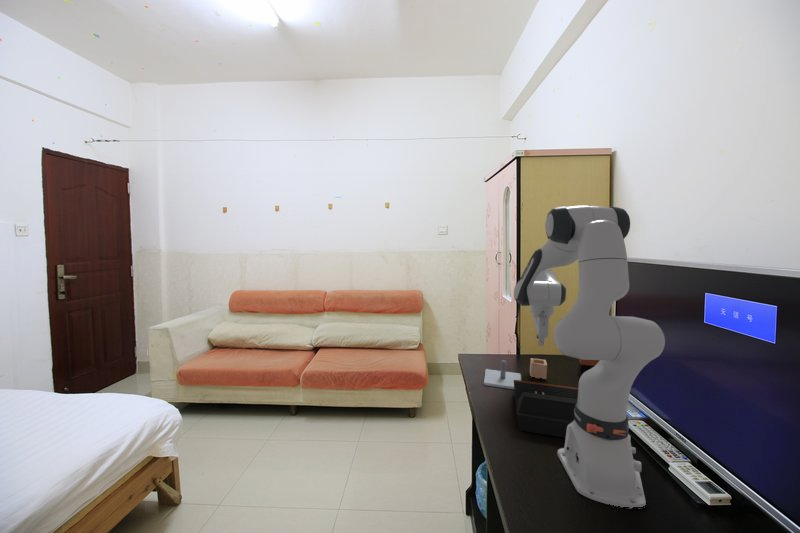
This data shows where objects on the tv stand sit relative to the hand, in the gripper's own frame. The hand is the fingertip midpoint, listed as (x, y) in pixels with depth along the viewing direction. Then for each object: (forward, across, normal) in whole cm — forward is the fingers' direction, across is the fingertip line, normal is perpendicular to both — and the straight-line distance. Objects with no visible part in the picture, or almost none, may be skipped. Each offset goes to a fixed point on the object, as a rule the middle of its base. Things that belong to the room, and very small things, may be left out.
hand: (539, 341), depth 144 cm
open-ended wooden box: (+14, 0, 0) cm, 15 cm away
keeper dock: (+14, -10, +14) cm, 23 cm away
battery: (+15, +6, -20) cm, 26 cm away
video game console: (+15, -34, -4) cm, 37 cm away
